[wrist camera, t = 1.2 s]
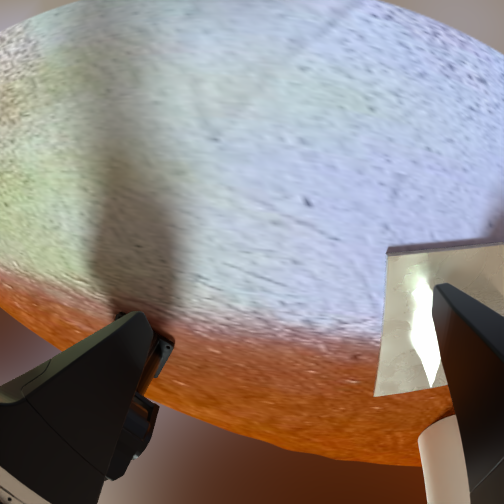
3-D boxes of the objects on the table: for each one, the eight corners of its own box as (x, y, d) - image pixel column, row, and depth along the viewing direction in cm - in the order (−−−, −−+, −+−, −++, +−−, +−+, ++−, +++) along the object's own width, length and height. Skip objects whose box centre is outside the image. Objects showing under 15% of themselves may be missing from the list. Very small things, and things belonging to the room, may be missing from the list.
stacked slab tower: (372, 389, 28) (383, 480, 18) (384, 250, 22) (430, 348, 12) (496, 365, 25) (529, 436, 15) (534, 236, 19) (606, 298, 9)
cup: (451, 444, 31) (468, 531, 17) (407, 447, 32) (418, 545, 18) (481, 411, 28) (509, 507, 13) (436, 415, 29) (458, 526, 14)
